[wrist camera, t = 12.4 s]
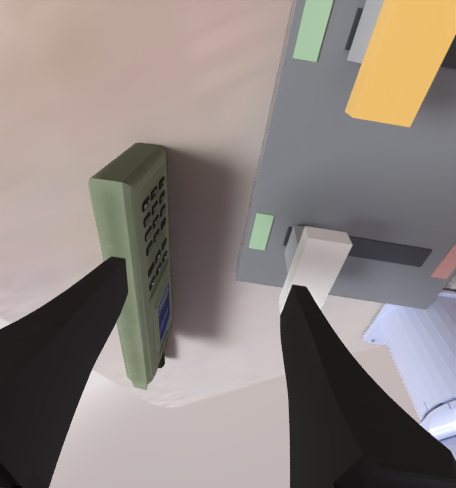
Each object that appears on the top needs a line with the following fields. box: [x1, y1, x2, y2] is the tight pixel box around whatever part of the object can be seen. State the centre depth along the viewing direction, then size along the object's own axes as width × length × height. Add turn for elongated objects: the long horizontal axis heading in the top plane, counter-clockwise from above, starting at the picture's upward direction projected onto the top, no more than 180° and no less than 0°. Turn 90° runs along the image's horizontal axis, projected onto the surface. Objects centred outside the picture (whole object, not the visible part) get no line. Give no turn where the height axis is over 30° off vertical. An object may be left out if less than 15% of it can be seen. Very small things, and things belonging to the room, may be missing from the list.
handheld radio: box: [88, 143, 172, 390], centre depth 24 cm, size 7×3×25 cm
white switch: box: [279, 225, 352, 313], centre depth 19 cm, size 2×6×4 cm, turn 172°
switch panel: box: [236, 0, 456, 310], centre depth 18 cm, size 16×22×2 cm
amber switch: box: [345, 0, 456, 127], centre depth 12 cm, size 2×6×4 cm, turn 172°
